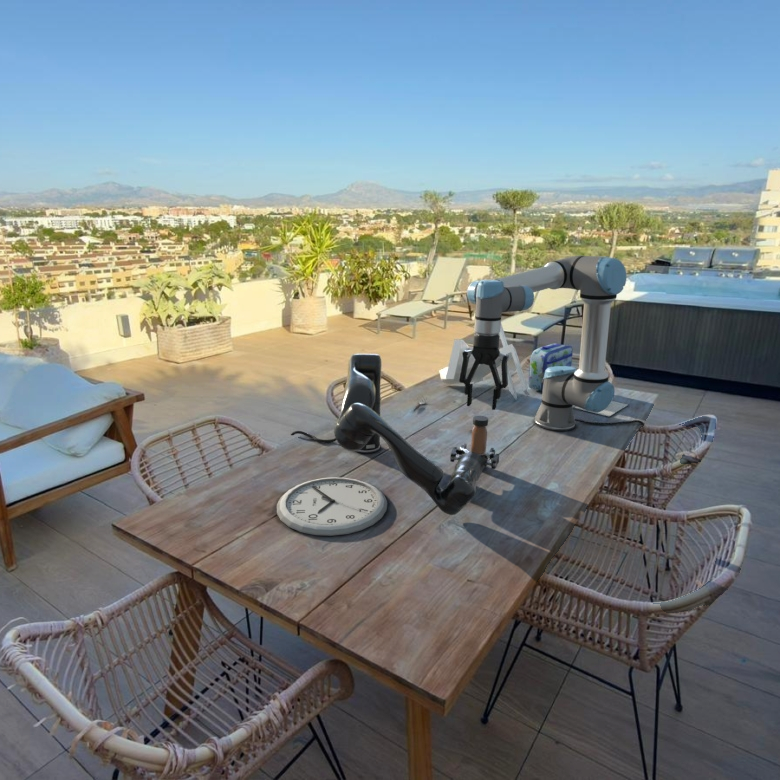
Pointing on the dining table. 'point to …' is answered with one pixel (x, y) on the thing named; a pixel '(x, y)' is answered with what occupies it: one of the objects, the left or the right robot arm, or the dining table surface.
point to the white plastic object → (481, 365)
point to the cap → (480, 421)
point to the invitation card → (609, 408)
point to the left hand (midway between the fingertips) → (478, 448)
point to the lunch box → (547, 362)
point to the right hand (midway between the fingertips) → (481, 406)
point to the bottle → (479, 439)
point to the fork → (420, 403)
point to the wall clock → (331, 506)
